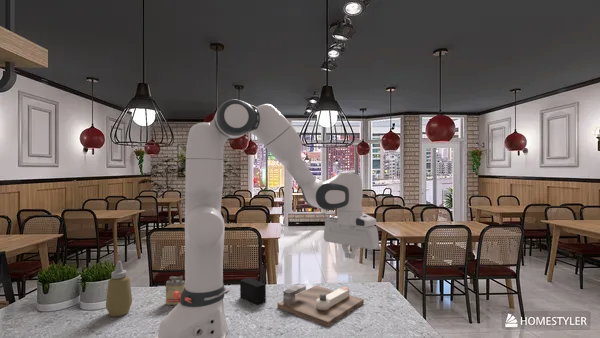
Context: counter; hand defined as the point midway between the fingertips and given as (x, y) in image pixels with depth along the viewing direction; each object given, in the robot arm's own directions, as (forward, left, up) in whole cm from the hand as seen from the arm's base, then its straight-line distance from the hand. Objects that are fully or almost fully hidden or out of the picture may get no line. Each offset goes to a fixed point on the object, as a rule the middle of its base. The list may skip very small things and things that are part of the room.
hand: (349, 257), depth 115 cm
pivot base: (-2, +11, -19) cm, 22 cm away
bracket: (-17, +53, -20) cm, 59 cm away
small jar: (-35, +54, -19) cm, 67 cm away
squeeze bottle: (-52, +61, -19) cm, 82 cm away
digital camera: (-14, +34, -19) cm, 41 cm away
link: (0, +7, -17) cm, 18 cm away
